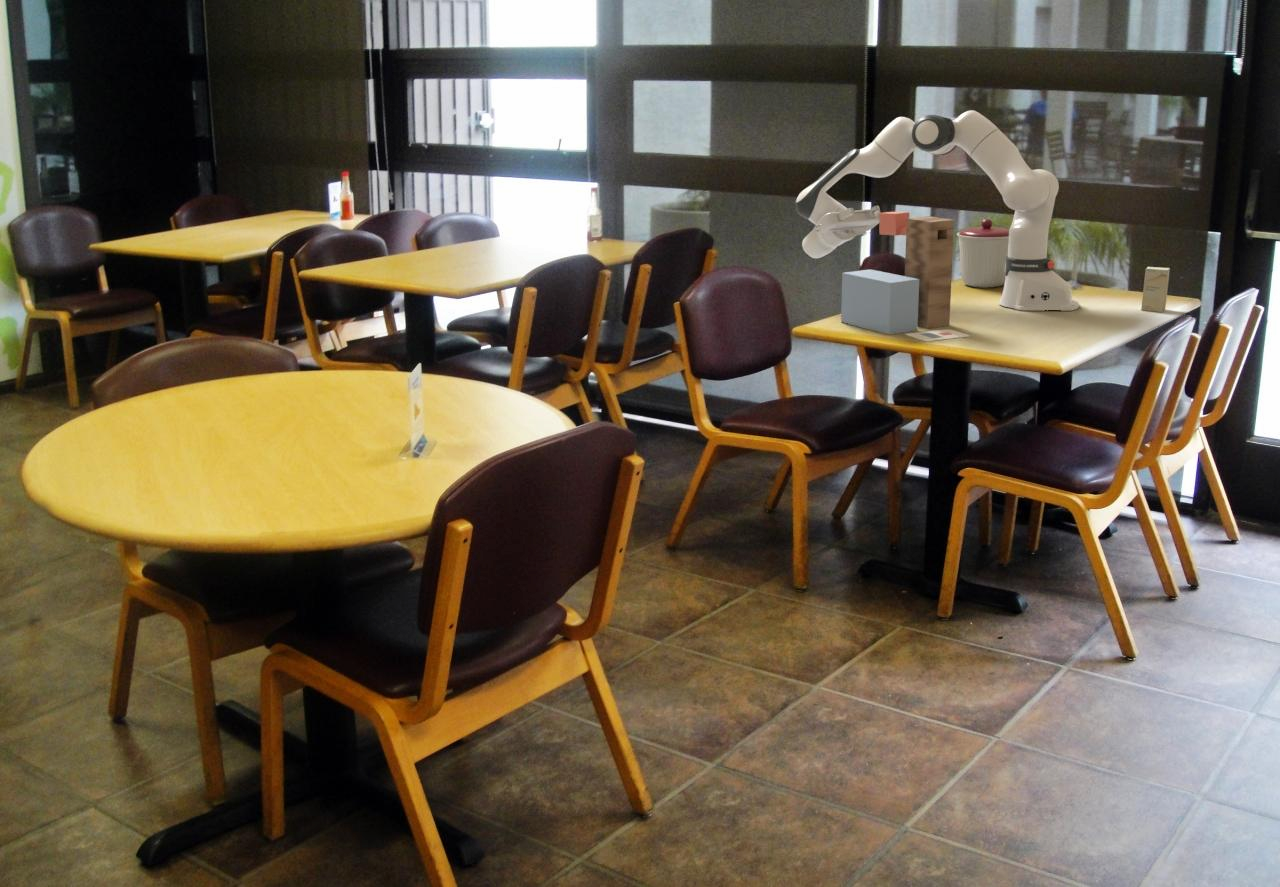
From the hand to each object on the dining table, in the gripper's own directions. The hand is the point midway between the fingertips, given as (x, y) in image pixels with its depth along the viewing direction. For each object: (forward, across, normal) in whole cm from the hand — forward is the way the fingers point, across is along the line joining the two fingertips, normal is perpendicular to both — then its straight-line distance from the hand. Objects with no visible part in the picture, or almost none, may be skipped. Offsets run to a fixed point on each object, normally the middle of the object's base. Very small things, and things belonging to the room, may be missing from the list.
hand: (864, 209), depth 400 cm
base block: (+8, -15, +38) cm, 41 cm away
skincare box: (+32, +64, +51) cm, 88 cm away
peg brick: (+17, -2, +15) cm, 23 cm away
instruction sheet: (+24, -10, +47) cm, 54 cm away
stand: (+13, -2, +40) cm, 42 cm away
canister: (-19, +54, +22) cm, 61 cm away
